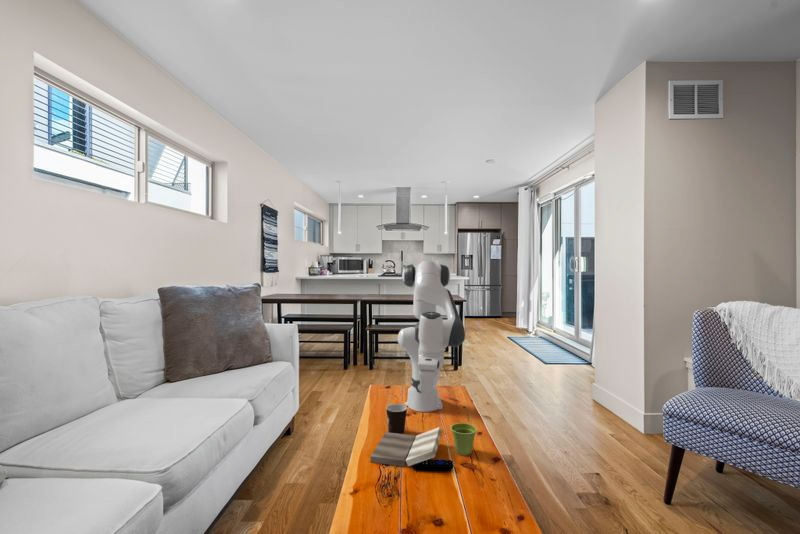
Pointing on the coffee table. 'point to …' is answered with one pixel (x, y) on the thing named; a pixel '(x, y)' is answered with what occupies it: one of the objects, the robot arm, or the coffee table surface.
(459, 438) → the plant pot
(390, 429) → the coffee mug
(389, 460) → the grey brown flat block
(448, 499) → the coffee table surface
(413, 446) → the ash plank
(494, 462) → the coffee table surface
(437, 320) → the robot arm
